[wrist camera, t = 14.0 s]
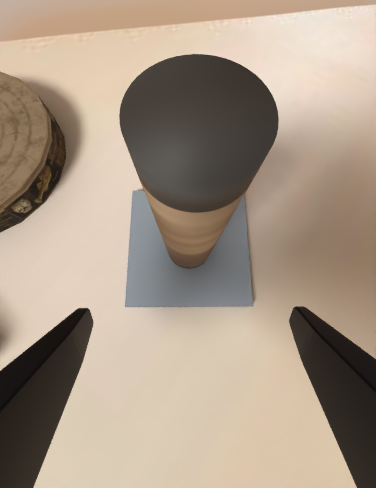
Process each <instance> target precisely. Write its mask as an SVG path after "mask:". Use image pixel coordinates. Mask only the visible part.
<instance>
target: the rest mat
mask: <svg viewBox="0 0 376 488" xmlns="http://www.w3.org/2000/svg"><path fill="white" fill-rule="evenodd" d="M218 306H253V298H252V286H251V273H250V261H249V248H248V236H247V223H246V210H245V198H244V196H243V197H242V199H241V201H240V203H239V204H238V206H237V208H236V210H235V211H234V213H233V215H232V217H231V218H230V220H229V222H228V224H227V225H226V227H225V229H224V230H223V232H222V234H221V236H220V237H219V239H218V241H217V243H216V244H215V246H214V248H213V250H212V251H211V253H210V255H209V257H208V258H207V260H206V261H205V262H204V263H203V264H202V265H200V266H198V267H196V268H191V269H187V268H182V267H180V266H178V265H176V264H175V263H174V262H173V261H172V260H171V258H170V257H169V254H168V252H167V249H166V246H165V244H164V241H163V239H162V236H161V233H160V231H159V228H158V226H157V223H156V220H155V218H154V215H153V213H152V210H151V207H150V205H149V202H148V200H147V197H146V194H145V192H144V191H133V195H132V210H131V225H130V240H129V255H128V270H127V285H126V300H125V307H218Z"/></svg>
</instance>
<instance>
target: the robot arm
mask: <svg viewBox="0 0 376 488" xmlns="http://www.w3.org/2000/svg"><path fill="white" fill-rule="evenodd" d="M289 323H290V327H291V330H292V333H293V336H294V339H295V342H296V345H297V348H298V352H299V355H300V357H301V360H302V362H303V365H304V367H305V370H306V372H307V374H308V376H309V379H310V381H311V383H312V386H313V388H314V390H315V392H316V395H317V397H318V399H319V402H320V404H321V406H322V408H323V411H324V413H325V415H326V418H327V420H328V422H329V424H330V427H331V429H332V431H333V434H334V436H335V438H336V441H337V443H338V445H339V447H340V450H341V452H342V454H343V457H344V459H345V461H346V463H347V466H348V468H349V470H350V473H351V475H352V477H353V479H354V482H355V484H356V486H357V488H376V359H375V358H373V357H372V356H371V355H369V354H368V353H367V352H365V351H364V350H363V349H361V348H360V347H358V346H357V345H356V344H354V343H353V342H352V341H350V340H349V339H348V338H346V337H345V336H344V335H342V334H341V333H340V332H338V331H337V330H336V329H334V328H333V327H331V326H330V325H329V324H327V323H326V322H325V321H323V320H322V319H321V318H319V317H318V316H317V315H315V314H314V313H313V312H311V311H310V310H309V309H307V308H306V307H303V306H296V307H294V308H293V311H292V313H291V316H290V319H289ZM92 327H93V319H92V316H91V313H90V310H89V309H88V308H78V309H77V310H75V311H74V312H73V313H72V314H70V315H69V316H68V317H67V318H65V319H64V320H63V321H62V322H61V323H59V324H58V325H57V326H56V327H54V328H53V329H52V330H51V331H49V332H48V333H47V334H46V335H44V336H43V337H42V338H41V339H39V340H38V341H37V342H36V343H34V344H33V345H32V346H31V347H29V348H28V349H27V350H26V351H24V352H23V353H22V354H21V355H19V356H18V357H17V358H16V359H14V360H13V361H12V362H11V363H10V364H8V365H7V366H6V367H5V368H3V369H2V370H1V371H0V488H33V487H34V484H35V482H36V479H37V477H38V474H39V472H40V469H41V467H42V464H43V461H44V459H45V456H46V454H47V451H48V449H49V446H50V444H51V441H52V439H53V436H54V434H55V431H56V428H57V426H58V423H59V421H60V418H61V416H62V413H63V411H64V408H65V406H66V403H67V401H68V398H69V396H70V393H71V390H72V388H73V385H74V383H75V380H76V378H77V375H78V373H79V370H80V368H81V365H82V362H83V359H84V356H85V352H86V349H87V345H88V342H89V338H90V335H91V331H92Z"/></svg>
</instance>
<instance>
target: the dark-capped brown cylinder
mask: <svg viewBox="0 0 376 488" xmlns="http://www.w3.org/2000/svg"><path fill="white" fill-rule="evenodd" d="M120 127H121V132H122V135H123V137H124V140H125V143H126V145H127V148H128V150H129V153H130V156H131V158H132V161H133V163H134V166H135V168H136V171H137V174H138V176H139V179H140V181H141V184H142V187H143V189H144V192H145V194H146V197H147V200H148V202H149V205H150V207H151V210H152V213H153V215H154V218H155V220H156V223H157V226H158V228H159V231H160V233H161V236H162V239H163V241H164V244H165V246H166V249H167V252H168V254H169V257H170V258H171V260H172V261H173V262H174V263H175V264H176V265H178V266H180V267H182V268H187V269H191V268H196V267H198V266H200V265H202V264H203V263H204V262H205V261H206V260H207V258H208V257H209V255H210V253H211V251H212V250H213V248H214V246H215V244H216V243H217V241H218V239H219V237H220V236H221V234H222V232H223V230H224V229H225V227H226V225H227V224H228V222H229V220H230V218H231V217H232V215H233V213H234V211H235V210H236V208H237V206H238V204H239V203H240V201H241V199H242V197H243V196H244V194H245V192H246V191H247V189H248V187H249V185H250V184H251V182H252V180H253V178H254V177H255V175H256V173H257V171H258V170H259V168H260V166H261V164H262V163H263V161H264V159H265V157H266V156H267V154H268V152H269V151H270V149H271V147H272V145H273V143H274V141H275V138H276V135H277V130H278V110H277V107H276V103H275V101H274V98H273V96H272V94H271V93H270V91H269V89H268V88H267V86H266V85H265V84H264V83H263V82H262V80H261V79H259V78H258V77H257V76H256V75H255V74H254V73H252V72H251V71H250V70H248V69H247V68H245V67H243V66H242V65H240V64H238V63H236V62H233V61H231V60H228V59H225V58H221V57H217V56H212V55H202V54H192V55H182V56H176V57H173V58H169V59H166V60H163V61H161V62H158V63H156V64H155V65H153V66H151V67H149V68H148V69H146V70H145V71H143V72H142V73H141V74H140V75H139V76H138V77H137V78H136V79H135V80H134V81H133V82H132V83H131V85H130V86H129V88H128V89H127V91H126V93H125V95H124V97H123V100H122V103H121V107H120Z"/></svg>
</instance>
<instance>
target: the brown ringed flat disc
mask: <svg viewBox="0 0 376 488" xmlns="http://www.w3.org/2000/svg"><path fill="white" fill-rule="evenodd" d="M65 159H66V152H65V140H64V135H63V133H62V131H61V129H60V127H59V125H58V124H57V122H56V120H55V118H54V117H53V115H52V114H51V113H50V111H49V110H48V108H47V107H46V106H45V104H44V103H43V102H42V100H41V99H40V98H39V96H38V95H37V94H36V93H35V92H34V91H33V90H32V89H31V88H29V87H28V86H27V85H26V84H25V83H23V82H22V81H21V80H20V79H18V78H15V77H13V76H10V75H7V74H5V73H2V72H0V232H2V231H4V230H6V229H8V228H10V227H12V226H14V225H16V224H19V223H21V222H22V221H24V220H25V219H26V218H27V217H28V216H29V215H31V214H32V213H33V212H34V211H35V210H37V209H38V208H39V207H40V206H41V205H42V204H44V203H45V201H46V200H47V198H48V197H49V195H50V194H51V192H52V191H53V189H54V188H55V186H56V185H57V183H58V182H59V180H60V177H61V173H62V170H63V166H64V163H65Z"/></svg>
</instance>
